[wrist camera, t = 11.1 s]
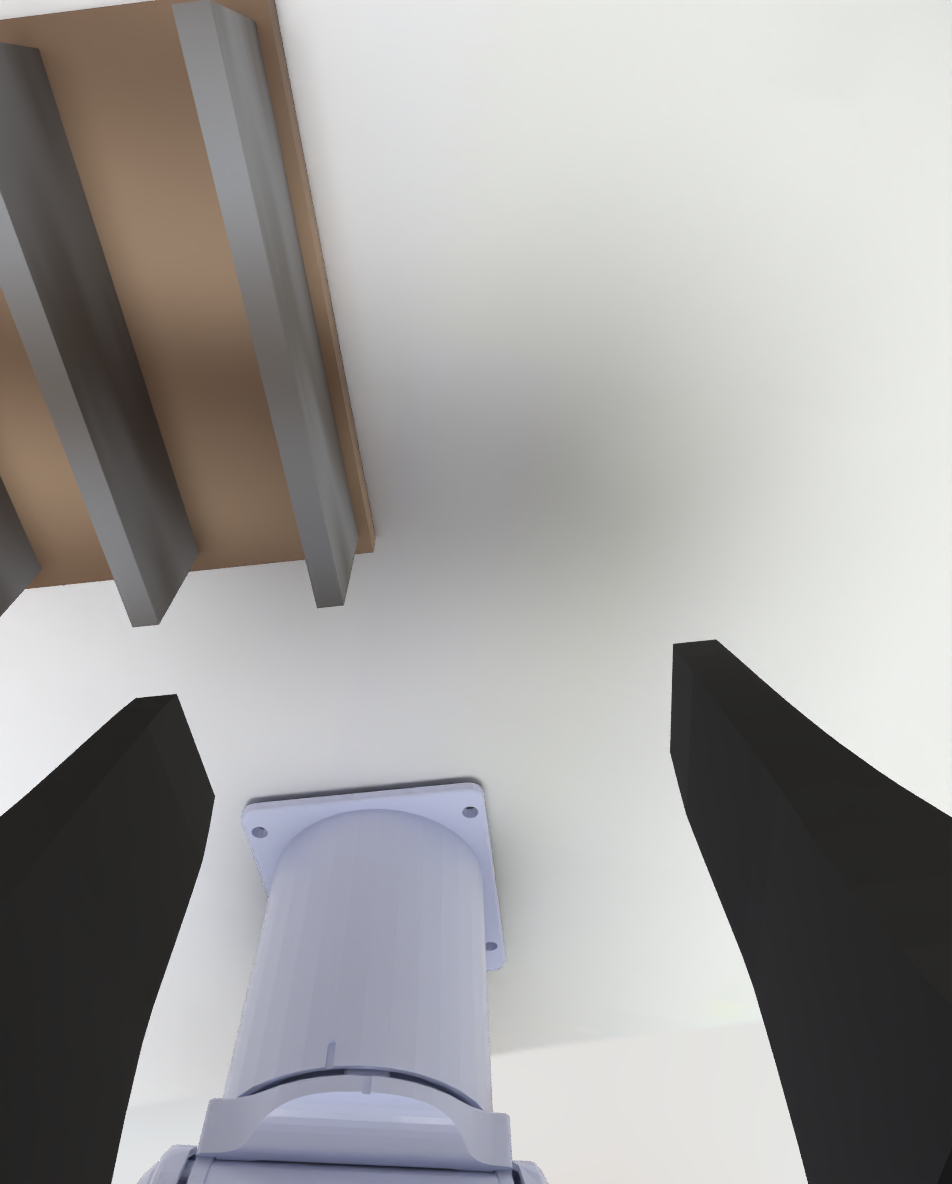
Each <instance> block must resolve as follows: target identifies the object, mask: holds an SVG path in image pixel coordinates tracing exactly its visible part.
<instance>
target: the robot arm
mask: <svg viewBox="0 0 952 1184" xmlns="http://www.w3.org/2000/svg"><path fill="white" fill-rule="evenodd" d="M670 753H671V757H672V761H673V765H674V769H675V773H676V777H677V781H678V785H679V789H680V793H681V796H682V800H683V804H684V808H685V811H686V815H687V817H688V820H689V823H690V825H691V828H692V830H693V833H694V836H695V838H696V841H697V843H698V846H699V848H700V851H701V853H702V856H703V858H704V861H705V863H706V866H707V868H708V871H709V873H710V876H711V878H712V881H713V883H714V886H715V888H716V891H717V893H718V896H719V898H720V901H721V903H722V906H723V908H724V911H725V913H726V916H727V918H728V921H729V923H730V926H731V928H732V931H733V933H734V936H735V938H736V941H737V943H738V946H739V948H740V951H741V953H742V956H743V959H744V962H745V965H746V967H747V970H748V973H749V976H750V979H751V982H752V984H753V987H754V990H755V994H756V997H757V1001H758V1004H759V1008H760V1011H761V1014H762V1018H763V1021H764V1025H765V1028H766V1031H767V1035H768V1038H769V1041H770V1045H771V1049H772V1052H773V1056H774V1059H775V1063H776V1066H777V1070H778V1073H779V1077H780V1080H781V1084H782V1088H783V1091H784V1095H785V1099H786V1102H787V1106H788V1110H789V1113H790V1117H791V1120H792V1124H793V1128H794V1131H795V1134H796V1139H797V1142H798V1146H799V1150H800V1154H801V1158H802V1161H803V1165H804V1169H805V1173H806V1177H807V1181H808V1184H952V817H950V816H949V815H947V814H945V813H944V812H942V811H941V810H939V809H937V808H936V807H934V806H932V805H931V804H929V803H928V802H926V801H924V800H923V799H921V798H919V797H918V796H916V795H915V794H913V793H911V792H910V791H908V790H906V789H905V788H903V787H902V786H900V785H899V784H897V783H896V782H894V781H893V780H891V779H890V778H888V777H887V776H885V775H884V774H882V773H881V772H879V771H878V770H876V769H875V768H873V767H872V766H871V765H869V764H868V763H866V762H865V761H864V760H862V759H861V758H859V757H858V756H857V755H855V754H854V753H853V752H851V751H850V750H848V749H847V748H846V747H844V746H843V745H841V744H840V743H839V742H837V741H836V740H835V739H833V738H832V737H831V736H829V735H828V734H827V733H826V732H824V731H823V730H822V729H821V728H819V727H818V726H817V725H816V724H814V723H813V722H812V721H811V720H809V719H808V718H807V717H806V716H804V715H803V714H802V713H801V712H799V711H798V710H797V709H796V708H795V707H793V706H792V705H791V704H790V703H789V702H787V701H786V700H785V699H784V698H783V697H781V696H780V695H779V694H778V693H777V692H776V691H774V690H773V689H772V688H771V687H770V686H769V685H768V684H766V683H765V682H764V681H763V680H762V679H761V678H759V677H758V676H757V675H756V674H755V673H754V672H753V671H752V670H750V669H749V668H748V667H747V666H746V665H745V664H744V663H743V662H741V661H740V660H739V659H738V658H737V657H736V656H735V655H733V654H732V653H731V652H730V651H729V650H728V649H727V648H725V647H724V646H723V645H722V644H721V643H720V642H718V641H717V640H707V641H697V642H687V643H677V644H673V668H672V704H671V740H670ZM214 799H215V795H214V793H213V790H212V787H211V785H210V782H209V779H208V777H207V774H206V771H205V768H204V766H203V763H202V760H201V758H200V755H199V752H198V750H197V747H196V744H195V742H194V739H193V736H192V734H191V731H190V728H189V726H188V723H187V720H186V718H185V715H184V712H183V710H182V707H181V704H180V701H179V699H178V696H177V694H172V695H162V696H153V697H143V698H135V699H134V700H133V701H132V702H130V703H129V704H128V705H127V706H125V707H124V708H123V709H122V710H120V711H119V712H118V713H117V714H116V715H115V716H114V717H112V718H111V719H110V720H109V721H108V722H107V723H106V724H104V725H103V726H102V727H101V728H100V729H99V730H98V731H97V732H96V733H94V734H93V735H92V736H91V737H90V738H89V739H88V740H87V741H86V742H85V743H83V744H82V745H81V746H80V747H79V748H78V749H77V750H76V751H75V752H74V753H72V754H71V755H70V756H69V757H68V758H67V759H66V760H65V761H64V762H62V763H61V764H60V765H59V766H58V767H57V768H56V769H55V770H53V771H52V772H51V773H50V774H49V775H48V776H47V777H46V778H45V779H43V780H42V781H41V782H40V783H39V784H38V785H37V786H36V787H34V788H33V789H32V790H31V791H30V792H29V793H28V794H27V795H25V796H24V797H23V798H22V799H21V800H20V801H18V802H17V803H16V804H15V805H14V806H12V807H11V808H10V809H9V810H8V811H6V812H5V813H4V814H3V815H2V816H0V1184H111V1182H112V1177H113V1172H114V1167H115V1163H116V1158H117V1153H118V1148H119V1143H120V1138H121V1133H122V1129H123V1124H124V1119H125V1115H126V1111H127V1106H128V1102H129V1098H130V1094H131V1089H132V1085H133V1081H134V1076H135V1072H136V1068H137V1064H138V1059H139V1055H140V1051H141V1047H142V1043H143V1039H144V1036H145V1032H146V1029H147V1026H148V1022H149V1019H150V1016H151V1012H152V1009H153V1006H154V1003H155V1000H156V997H157V994H158V991H159V988H160V985H161V983H162V980H163V977H164V974H165V971H166V968H167V965H168V962H169V959H170V956H171V953H172V950H173V948H174V945H175V942H176V939H177V936H178V933H179V930H180V927H181V924H182V921H183V918H184V916H185V913H186V910H187V907H188V904H189V901H190V898H191V895H192V892H193V889H194V886H195V883H196V880H197V877H198V873H199V870H200V867H201V864H202V861H203V856H204V852H205V847H206V842H207V837H208V833H209V827H210V821H211V816H212V810H213V804H214ZM466 807H475V808H473V809H466ZM241 823H242V826H243V828H244V831H245V834H246V837H247V840H248V842H249V845H250V848H251V851H252V854H253V856H254V859H255V862H256V865H257V868H258V870H259V873H260V876H261V879H262V882H263V884H264V887H265V890H266V893H267V896H268V898H269V899H268V904H267V908H266V912H265V917H264V921H263V925H262V930H261V934H260V938H259V943H258V947H257V951H256V956H255V960H254V965H253V969H252V973H251V978H250V982H249V986H248V991H247V995H246V999H245V1004H244V1008H243V1012H242V1017H241V1021H240V1026H239V1030H238V1034H237V1039H236V1043H235V1047H234V1052H233V1056H232V1060H231V1065H230V1069H229V1073H228V1078H227V1082H226V1086H225V1091H224V1095H223V1098H214V1099H212V1100H210V1101H209V1104H208V1108H207V1113H206V1116H205V1121H204V1125H203V1129H202V1133H201V1137H200V1142H199V1146H198V1149H197V1146H191V1145H174V1146H171V1147H170V1148H169V1149H168V1150H167V1151H166V1152H165V1153H164V1154H163V1156H162V1157H161V1159H160V1161H158V1162H157V1163H156V1164H155V1165H154V1166H153V1167H152V1168H150V1169H149V1170H148V1171H147V1172H146V1173H145V1174H144V1175H143V1176H142V1177H141V1178H140V1180H139V1181H138V1183H137V1184H548V1182H547V1181H546V1178H545V1176H544V1174H543V1173H542V1171H541V1169H540V1168H539V1167H538V1166H537V1165H536V1164H535V1163H534V1162H531V1161H512V1150H511V1134H510V1118H509V1116H508V1115H507V1114H503V1113H494V1112H493V1110H492V1087H491V1064H490V1041H489V1019H488V996H487V973H486V971H491V970H497V969H500V968H502V967H503V966H504V965H505V962H506V955H505V947H504V940H503V932H502V925H501V917H500V910H499V903H498V895H497V888H496V880H495V873H494V866H493V858H492V851H491V843H490V836H489V829H488V821H487V814H486V806H485V799H484V792H483V790H482V788H481V787H480V786H479V785H477V784H475V783H467V782H466V783H456V784H446V785H436V786H425V787H415V788H405V789H394V790H384V791H374V792H364V793H353V794H343V795H333V796H322V797H312V798H302V799H291V800H281V801H271V802H261V803H253V804H249V805H248V806H246V807H245V808H244V810H243V813H242V816H241ZM257 827H262V828H264V829H259V828H257Z"/></svg>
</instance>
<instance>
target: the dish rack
mask: <svg viewBox="0 0 952 1184" xmlns="http://www.w3.org/2000/svg"><path fill="white" fill-rule="evenodd" d="M375 539H376V538H375V533H374V527H373V522H372V517H371V512H370V506H369V501H368V496H367V490H366V485H365V480H364V474H363V469H362V464H361V458H360V453H359V448H358V442H357V437H356V432H355V426H354V421H353V416H352V410H351V405H350V400H349V395H348V389H347V384H346V379H345V373H344V368H343V363H342V357H341V352H340V347H339V341H338V336H337V331H336V325H335V320H334V315H333V309H332V304H331V299H330V293H329V288H328V283H327V278H326V272H325V267H324V262H323V256H322V251H321V246H320V240H319V235H318V230H317V224H316V219H315V214H314V208H313V203H312V198H311V192H310V187H309V182H308V176H307V171H306V166H305V161H304V155H303V150H302V145H301V139H300V134H299V129H298V123H297V118H296V113H295V107H294V102H293V97H292V91H291V86H290V81H289V75H288V70H287V65H286V59H285V54H284V49H283V44H282V38H281V33H280V28H279V22H278V17H277V12H276V6H275V1H274V0H155V1H147V2H139V3H131V4H123V5H115V6H107V7H100V8H92V9H84V10H76V11H68V12H60V13H52V14H44V15H36V16H28V17H20V18H12V19H4V20H0V616H1V615H2V614H3V613H4V612H5V611H6V610H7V609H8V607H9V606H10V605H11V604H12V603H13V602H14V601H15V600H16V598H17V597H18V596H19V595H20V594H21V593H22V592H23V591H24V589H30V588H39V587H49V586H58V585H67V584H77V583H86V582H96V581H105V580H115V583H116V586H117V588H118V591H119V593H120V596H121V598H122V601H123V604H124V606H125V609H126V611H127V614H128V617H129V619H130V622H131V624H132V627H140V626H150V625H159V623H160V622H161V620H162V618H163V616H164V615H165V613H166V611H167V609H168V608H169V606H170V604H171V602H172V601H173V599H174V597H175V595H176V593H177V592H178V590H179V588H180V586H181V585H182V583H183V581H184V579H185V578H186V576H187V574H188V572H191V571H200V570H210V569H219V568H229V567H238V566H247V565H257V564H266V563H276V562H285V561H295V560H304V559H305V560H306V564H307V568H308V572H309V576H310V580H311V585H312V589H313V593H314V597H315V601H316V605H317V608H323V607H333V606H342V605H344V602H345V597H346V593H347V588H348V583H349V579H350V574H351V569H352V564H353V560H354V555H355V554H361V553H371V552H373V550H374V545H375Z"/></svg>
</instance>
